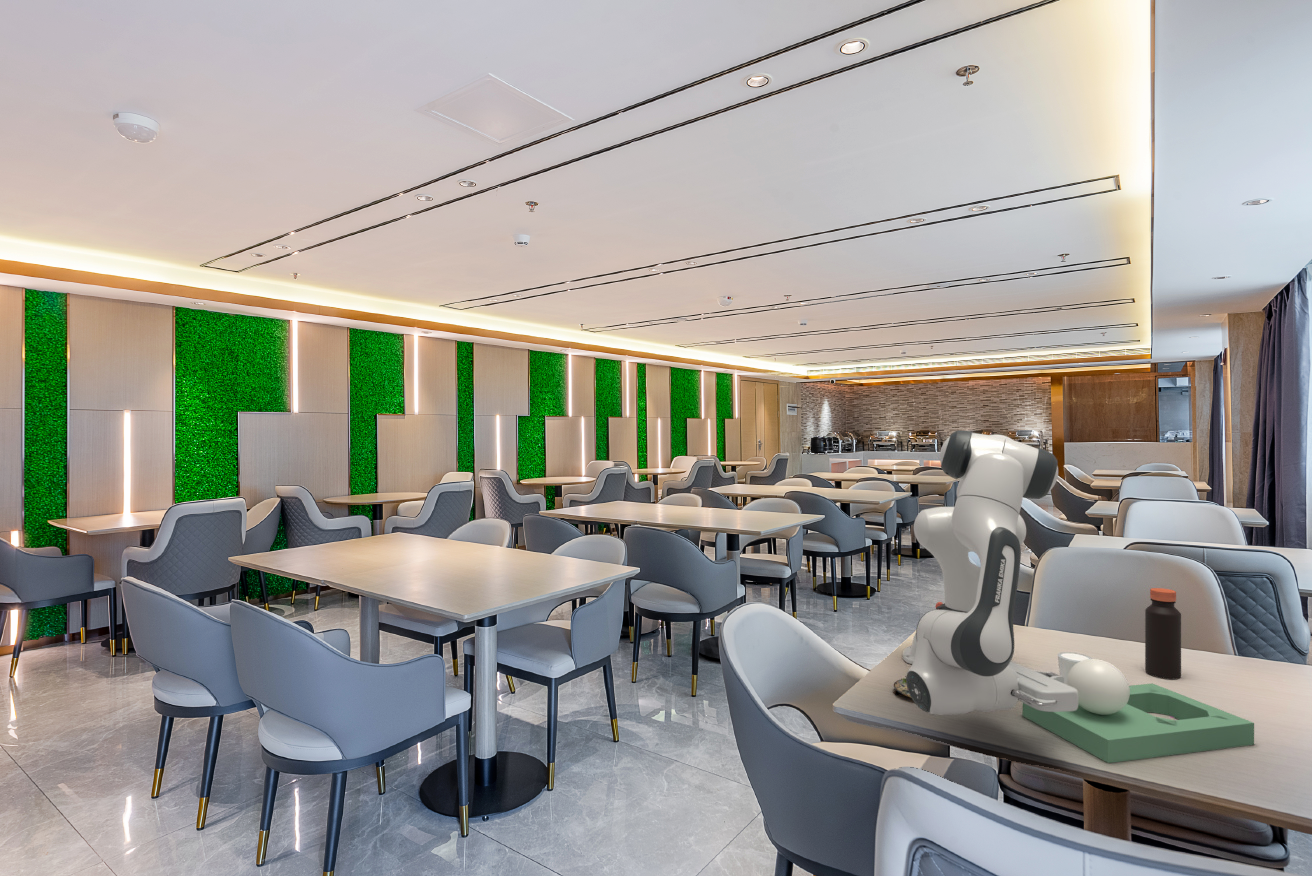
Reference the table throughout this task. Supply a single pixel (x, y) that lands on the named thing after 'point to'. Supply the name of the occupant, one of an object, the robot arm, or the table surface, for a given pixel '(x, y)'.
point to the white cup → (1069, 662)
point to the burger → (901, 687)
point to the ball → (1099, 686)
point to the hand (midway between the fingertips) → (1058, 678)
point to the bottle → (1163, 635)
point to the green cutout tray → (1147, 726)
